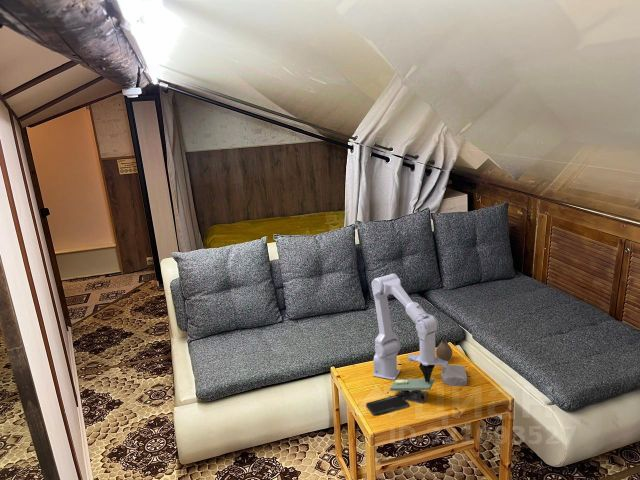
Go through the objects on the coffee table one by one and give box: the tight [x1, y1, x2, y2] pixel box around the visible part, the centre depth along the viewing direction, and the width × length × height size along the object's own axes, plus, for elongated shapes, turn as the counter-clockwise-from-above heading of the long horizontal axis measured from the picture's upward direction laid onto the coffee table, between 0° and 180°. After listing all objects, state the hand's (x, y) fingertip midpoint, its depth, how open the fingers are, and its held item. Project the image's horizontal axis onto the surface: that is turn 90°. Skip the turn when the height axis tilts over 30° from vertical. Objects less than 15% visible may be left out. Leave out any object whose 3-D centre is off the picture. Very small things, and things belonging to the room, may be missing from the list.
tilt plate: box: [389, 377, 435, 392], centre depth 178 cm, size 16×7×3 cm, turn 62°
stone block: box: [441, 364, 468, 387], centre depth 189 cm, size 12×5×10 cm
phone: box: [365, 394, 410, 417], centre depth 174 cm, size 8×1×15 cm
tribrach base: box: [397, 390, 428, 404], centre depth 178 cm, size 10×7×3 cm
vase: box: [435, 340, 453, 362], centre depth 203 cm, size 7×7×9 cm
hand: (427, 380), depth 174 cm, fingers closed
